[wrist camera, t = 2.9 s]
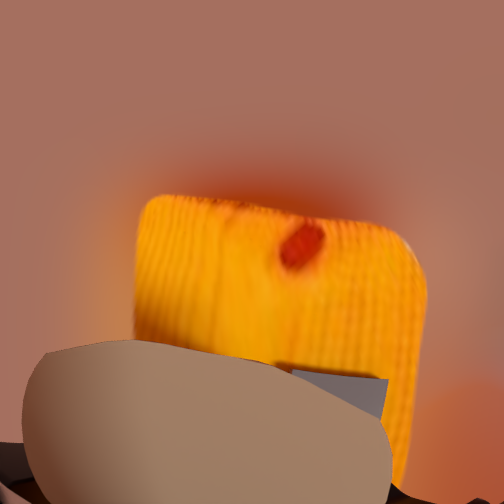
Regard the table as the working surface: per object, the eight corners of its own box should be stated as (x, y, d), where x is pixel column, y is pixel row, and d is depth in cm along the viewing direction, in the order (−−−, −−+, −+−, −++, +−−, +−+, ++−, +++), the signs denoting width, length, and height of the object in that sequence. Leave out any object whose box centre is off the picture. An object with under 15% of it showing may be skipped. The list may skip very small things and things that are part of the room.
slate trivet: (356, 475, 13) (362, 480, 12) (264, 471, 14) (265, 477, 13) (381, 379, 16) (388, 379, 15) (290, 368, 17) (292, 369, 16)
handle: (193, 352, 17) (36, 303, 4) (286, 366, 17) (413, 366, 3) (182, 417, 15) (31, 507, 2) (276, 431, 15) (348, 580, 1)
